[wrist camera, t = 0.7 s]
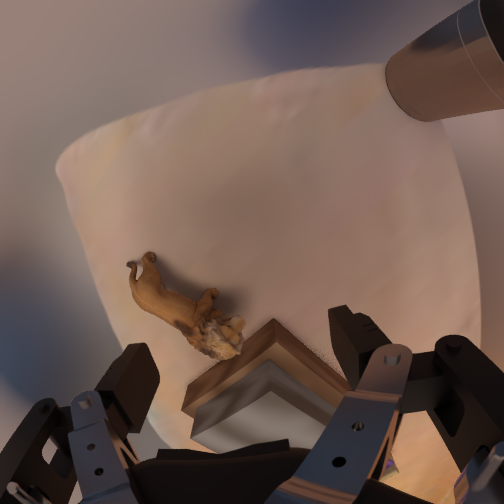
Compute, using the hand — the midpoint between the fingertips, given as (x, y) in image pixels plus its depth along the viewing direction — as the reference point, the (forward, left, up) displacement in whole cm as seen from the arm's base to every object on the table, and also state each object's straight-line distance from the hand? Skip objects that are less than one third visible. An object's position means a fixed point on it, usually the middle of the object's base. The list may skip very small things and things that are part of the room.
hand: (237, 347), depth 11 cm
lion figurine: (+8, -1, -19) cm, 21 cm away
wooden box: (+12, +18, -19) cm, 29 cm away
